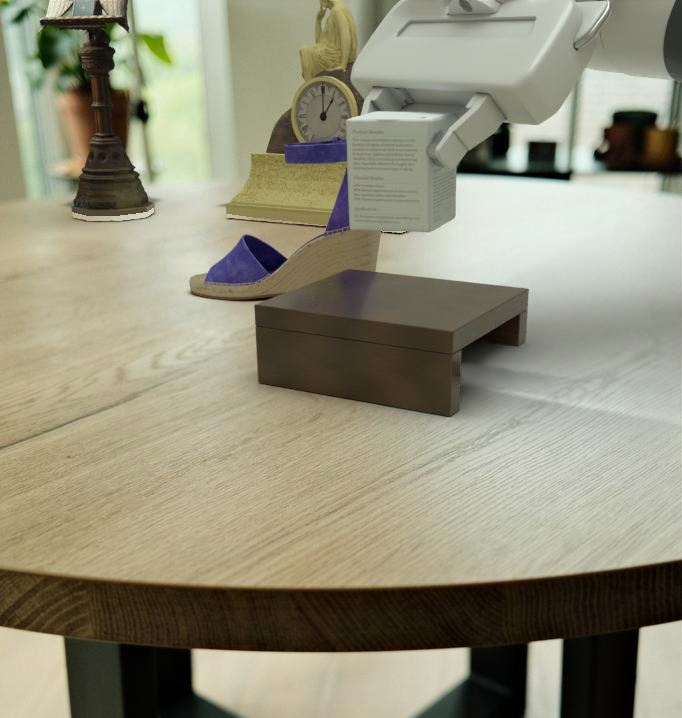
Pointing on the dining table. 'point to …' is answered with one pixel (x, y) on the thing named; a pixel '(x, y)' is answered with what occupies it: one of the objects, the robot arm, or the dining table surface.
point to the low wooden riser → (383, 336)
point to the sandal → (311, 261)
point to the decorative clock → (308, 130)
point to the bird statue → (101, 112)
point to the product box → (398, 172)
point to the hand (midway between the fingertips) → (395, 155)
